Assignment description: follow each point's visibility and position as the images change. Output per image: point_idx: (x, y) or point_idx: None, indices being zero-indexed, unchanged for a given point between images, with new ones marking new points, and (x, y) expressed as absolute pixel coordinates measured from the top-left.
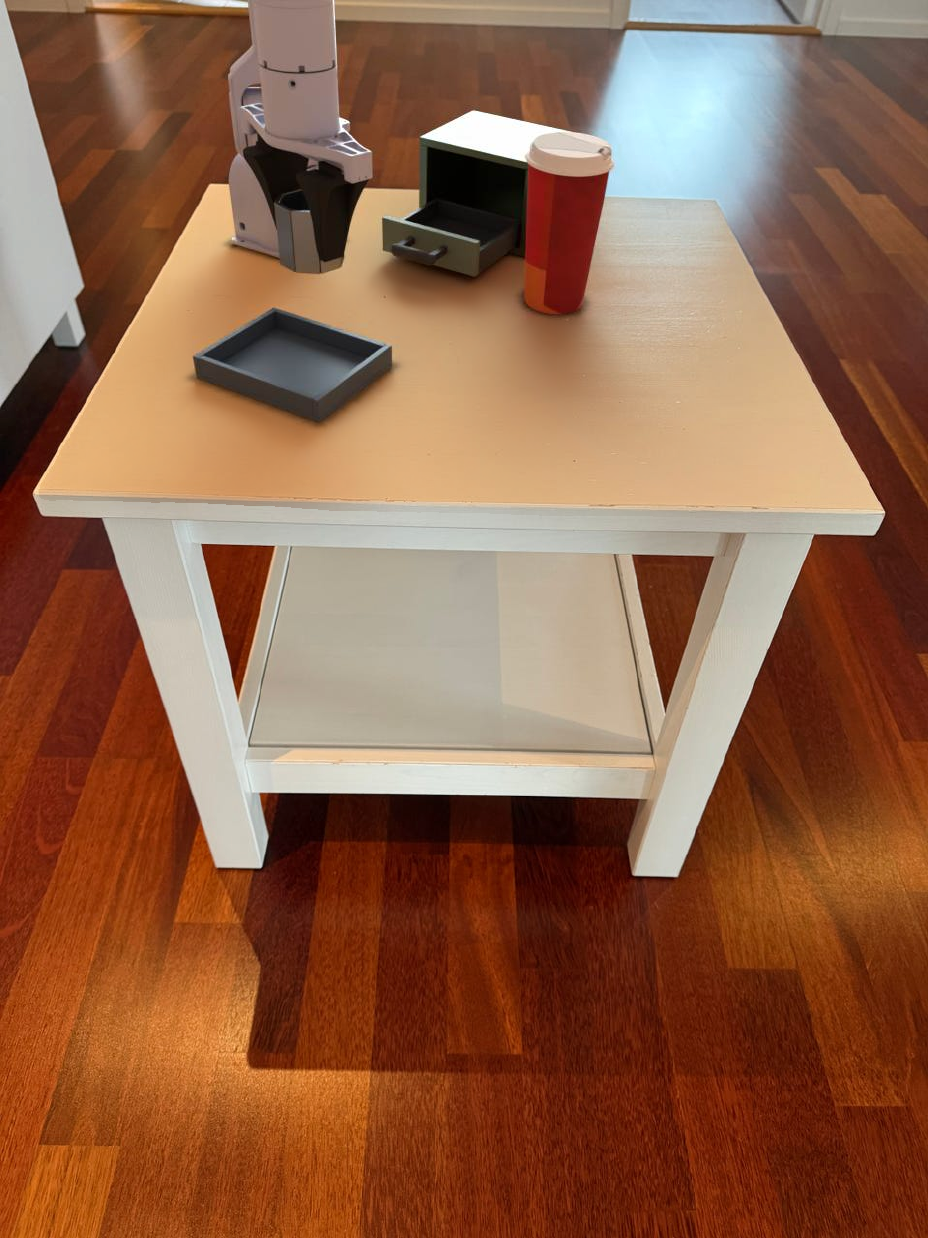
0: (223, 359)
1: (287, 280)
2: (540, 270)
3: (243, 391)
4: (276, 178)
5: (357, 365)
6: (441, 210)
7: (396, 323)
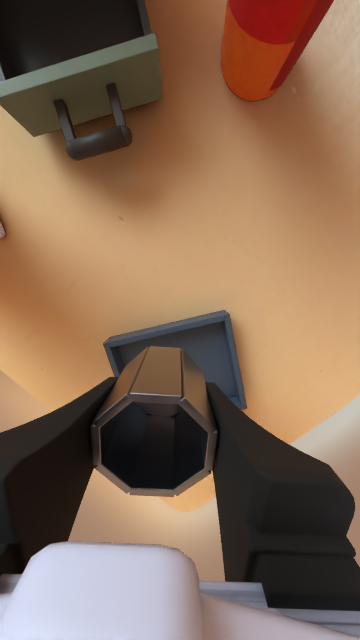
0: None
1: (33, 269)
2: (284, 46)
3: None
4: (75, 496)
5: (209, 335)
6: None
7: (170, 251)
